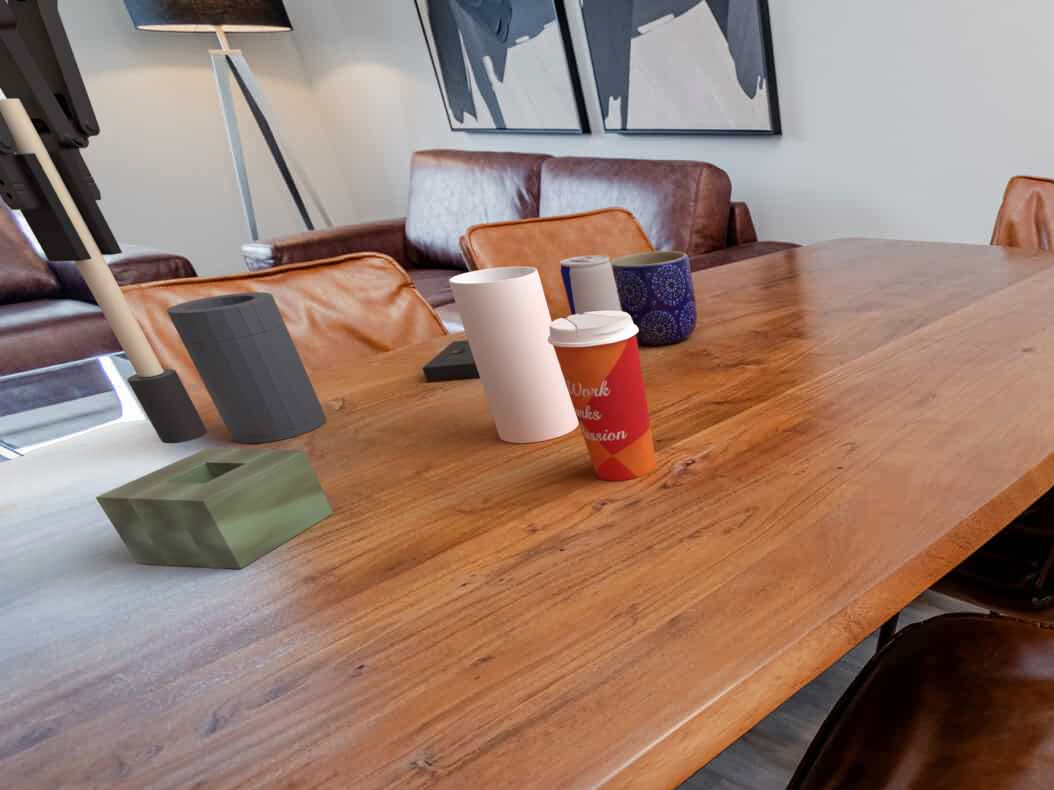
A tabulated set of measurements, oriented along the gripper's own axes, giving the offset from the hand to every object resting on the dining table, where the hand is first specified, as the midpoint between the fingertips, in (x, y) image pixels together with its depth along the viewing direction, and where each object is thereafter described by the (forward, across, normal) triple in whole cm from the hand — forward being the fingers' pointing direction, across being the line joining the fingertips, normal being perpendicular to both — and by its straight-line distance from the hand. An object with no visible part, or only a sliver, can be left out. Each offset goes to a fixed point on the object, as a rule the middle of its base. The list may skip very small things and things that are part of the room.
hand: (86, 256), depth 58 cm
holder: (+23, 0, 0) cm, 23 cm away
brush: (+13, 0, 0) cm, 13 cm away
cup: (+23, +26, -13) cm, 37 cm away
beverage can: (+23, +40, -15) cm, 48 cm away
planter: (+23, +62, -12) cm, 67 cm away
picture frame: (+23, +51, +6) cm, 56 cm away
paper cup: (+23, +16, -28) cm, 40 cm away
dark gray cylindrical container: (+23, +25, +19) cm, 39 cm away
